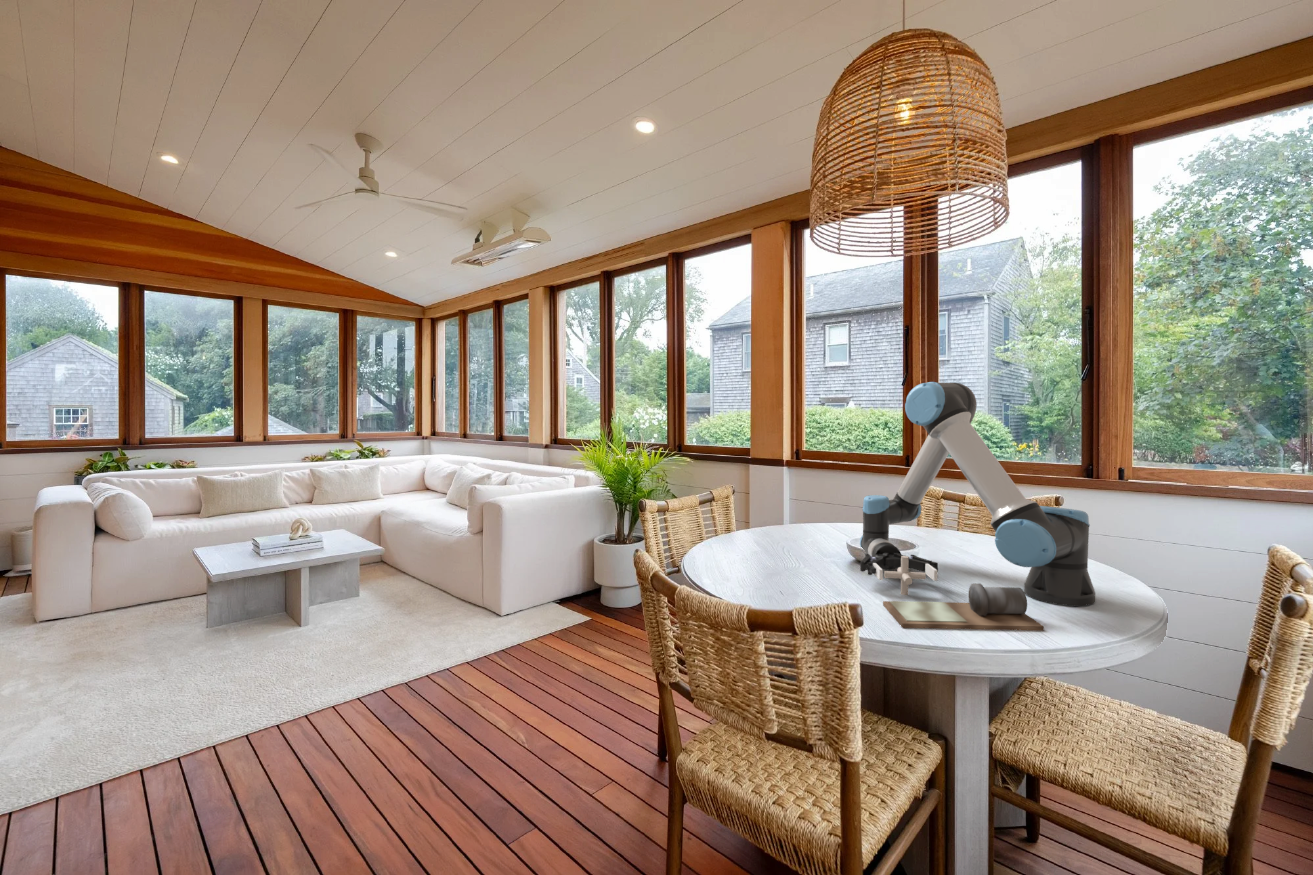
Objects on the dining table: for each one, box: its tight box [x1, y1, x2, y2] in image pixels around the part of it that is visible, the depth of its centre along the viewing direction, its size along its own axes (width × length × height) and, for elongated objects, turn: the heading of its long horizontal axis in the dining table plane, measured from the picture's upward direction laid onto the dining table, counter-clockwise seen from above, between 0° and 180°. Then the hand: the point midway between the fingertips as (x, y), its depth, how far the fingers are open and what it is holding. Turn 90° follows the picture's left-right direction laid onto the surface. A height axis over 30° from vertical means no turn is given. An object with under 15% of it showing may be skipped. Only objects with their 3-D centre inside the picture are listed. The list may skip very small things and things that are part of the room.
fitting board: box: [882, 582, 1045, 632], centre depth 138 cm, size 30×15×8 cm, turn 85°
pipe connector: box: [883, 555, 927, 596], centre depth 155 cm, size 10×10×10 cm
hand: (908, 575), depth 152 cm, fingers open, 13 cm apart
